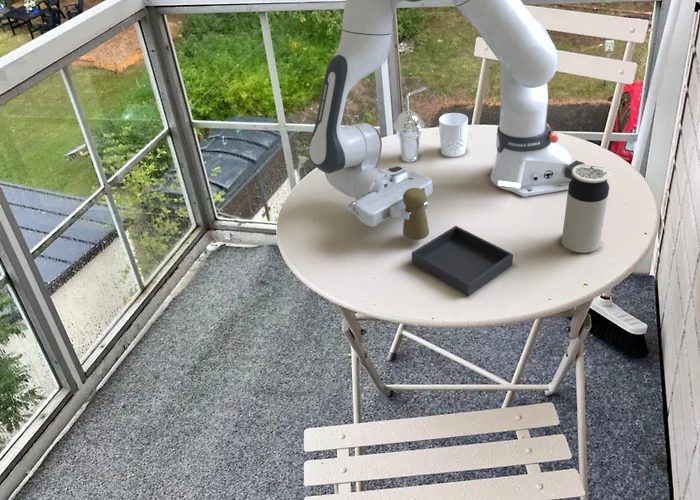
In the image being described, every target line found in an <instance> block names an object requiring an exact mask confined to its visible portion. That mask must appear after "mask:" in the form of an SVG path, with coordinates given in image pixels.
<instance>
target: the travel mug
mask: <svg viewBox="0 0 700 500" xmlns="http://www.w3.org/2000/svg"><path fill="white" fill-rule="evenodd" d="M572 175H573V178H572V180H571V181H570V182H569V187H568V190H567V196H566V204H565V212H564V221H563V228H562V236H561V243H562V245H563V246H564V248H566V249H567V250H569V251H571V252H576V253H581V254H584V253H591V252H594V251H596V250H598V249H599V248H600V245H601V239H602V234H603V228H604V222H605V217H606V210H607V204H608V199H609V192H610V185H609V182H608V180H609V178H610V177H611V172H610V170H609V169H608V168H607V167H605V166H603V165H601V164H597V163H585V164H580V165H577V166H575V167H574V168H573V169H572Z"/></svg>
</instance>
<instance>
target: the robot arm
mask: <svg viewBox="0 0 700 500" xmlns="http://www.w3.org/2000/svg"><path fill="white" fill-rule="evenodd" d="M403 1H404V0H345V4H344V9H343V16H342V24H341V35H340V40H339V43H338V47H337V49H336V51H335V54H334V56H333V57H332V58H331V59H330V60H329V61H328V64H327V66H326V70H325V73H324V76H323V77H324V78H323V82H322V87H321V93H320V98H319V102H318V109H317V114H316V118H315V124H314V128H313V130H312V133H311V136H310V139H309V142H308V145H307V147H308V149H307V153H308V157H309V160H310V161H311V163H312V164H313V165H314V167H316V168H317V169H318V170H319V171H321V172H322V173H324V177H325V179H326V180H327V182H328V183H329V184H330V185H331V186H332V187H333V188H334V189H335V190H337V191H339V192H340V193H342V194H343V195H345V196H347V197H349V198H354V199H355V200H354V201H352V202H350V203H349V204H348V206H347V208H346V209H347V211H348V212H349V213H350V214H352V215H354V216H355V217H356V218H357V219H358V220H359V221H360V222H361V223H363V224H364V225H366V226H368V227H376V226H378V225H380V224H381V223H383V222H384V221H387V220H388V219H390V218H396V219H397V218H400V219H402V218H403V220H404V219H406V220H408V219H410V218H411V215H412V213H411V211H408V210H407V209H405V207H406V205H405V204H404V202H403V195H404V193H405V191H406V190H408V189H410V188H420V189H422V190H424V192H425V193H426V197H427V198H428V197H429V196H430V195H432V194H433V189H434V188H433V187H434V185H433V181H432V178H430V177H429V176H426V175H424V174H423V173H420V172H417V171H414V170H407V167H406V166H405V165H397V166H393V167H389V168H379V169H377V167H378V165H379V162H380V158H381V153H382V148H383V143H382V137H381V134H380V133H379V131H378V130H377V128H376V127H375V126H374V125H372V124H371V123H369V122H362V123H354V124H353V123H352V124H349V125H345V126H344V125H343V126H342V122H343V116H344V111H345V108H346V107H345V106H346V102H347V97H348V95H349V93H350V91H351V90H352V88H353V87H355V85H357V83H359V82H361V80H363V79H364V78H366V77H368V76H370V75H371V74H373V73H375V72H376V71H378V70H379V69H380V68H381V67H382V66H383V65H384V64H385V63H386V61H387V59H388V57H389V54H390V50H391V45H392V32H393V18H394V16H395V12H396V9H397V7H398V6H399V4H400V3H402V2H403ZM405 1H406V2H411V3H416V2H420V1H422V0H405ZM450 1H451V2H452V3H453V4H454V6H455V7H456V8H457V9H458V10H459V12H460V13H461V14H462V15H463V16H464V17H465V19H466V20H467V21H468V22H469V23H470V25H471V26H472V27H473V28H474V29H475V30H476V31H477V33H478V34H479V36H480V37H481V39H482V40H483V41H484V42H485V44H486V45H487V47H488V48H489V50H490V51H491V52H492V53H493V55H494V56H495V57H496V59H497V60H498V62H499V84H500V88H499V89H500V103H499V105H500V107H499V125H498V126H497V130H496V137H495V142H496V143H495V147H496V155H495V160H494V165H493V168H492V170H491V172H490V177H489V178H490V181H491V182H492V184H493V185H495V187H498V188H500V189H502V190H505V191H509V192H512V193H514V194H517V195H518V196H521V197H522V198H523V197H527V198H528V197H532V196H538V195H545V194H549V193H556V192H561V191H568V187H569V182H570V181H571V180H572V178H573V175H572V169H573V168H574V167H575V166H577V165H580V164H586V163H585V162H583V161H580V160H575V161H573V158H572V155H571V154H570V152H569V150H568V149H567V148H566V147H565V146H564V145H562V144H561V143H559V142H558V141H559V136H558V134H557V133H556V132H554V129H553V127H550V125H549V124H548V123H547V116H548V104H549V93H548V91H549V90H548V83H549V82H550V81H551V80H552V79H553V78H554V76H555V75H556V72H557V68H558V51H557V48H556V46H555V44H554V41H553V40H552V38H551V36H550V34H549V33H548V31H547V29H546V27H545V26H544V24H543V23H542V22H540V21H539V20H538V19H535V17H533V15H532V14H531V13H530V11H529V9H528V8H527V6H526V5H525V4H524V3H523V2H522V0H450ZM429 205H430V204H429V201H427V200H426V203H425V204H424V206H425V210H427V209H429Z"/></svg>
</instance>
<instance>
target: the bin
mask: <svg viewBox="0 0 700 500" xmlns="http://www.w3.org/2000/svg"><path fill="white" fill-rule="evenodd" d="M513 261H514V253H511V252H510V251H508V250H506V249H504V248H502V247H500V246H498V245H496V244H495V243H492V242H489V241H488V240H486V239H483V238H482V237H479V236H477V235H475V234H473V233H471V232H469V231H468V230H465V229H463V228H462V227H459V226H457V225H454V226H452V227H451V228H449V229H447V230H446V231H444V232H443V233H441V234H439V235H438V236H436V237H434V238H433V239H432V240H430V241H428V242H427V243H424V244H423V245H421V246H420V247H418V248H416V249H415V250H413V251H412V252H411V265H413V266H415V267H416V268H418V269H420V270H422V271H423V272H425V273H427V274H429V275H430V276H432V277H433V278H435V279H437V280H439V281H440V282H442V283H444V284H445V285H447V286H449V287H451V288H453V289H454V290H456V291H457V292H459V293H461V294H463V295H464V296H466V297H470V296H471V295H473V294H475V293H476V292H477V291H479V290H480V289H482V288H483V287H484V286H486V285H487V284H488V283H490V282H492V281H493V280H494V279H496V278H497V277H498V276H500V275H501V274H503V273H504V272H506V271H507V270H509V269H510V268H511V267H512V266H513Z"/></svg>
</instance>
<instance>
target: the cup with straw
mask: <svg viewBox="0 0 700 500" xmlns="http://www.w3.org/2000/svg"><path fill="white" fill-rule="evenodd" d="M425 90H427V87H426V86H423V87H420V88H418V89H415V90H413V91H409V92H408V93H407V94H406V96H405V100H406V101H405V102H406V104H405V105H406V110H404V111H402V112H401V113H400V114H398V115H397V117H396V120H394V122H393V124H392V128H393V130H394V131H396V135H397V138H398V143H399V150H400V156H401V160H402V161H404V162H407V163H409V162H410V163H411V162H415V161H417V160H418V159H419V152H420V142H421V141H420V140H421V135H422V130H423V129H424V128H425V122H424V120H423V119H422V118H421V116H420V115H419V113H417V112H416V111H413V110H410V96H412V95H415V94H417V93H419V92H423V91H425Z"/></svg>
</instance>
